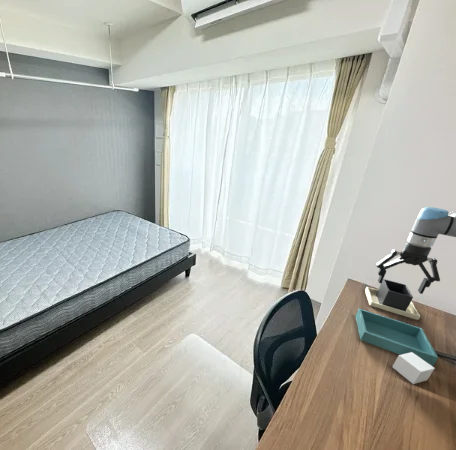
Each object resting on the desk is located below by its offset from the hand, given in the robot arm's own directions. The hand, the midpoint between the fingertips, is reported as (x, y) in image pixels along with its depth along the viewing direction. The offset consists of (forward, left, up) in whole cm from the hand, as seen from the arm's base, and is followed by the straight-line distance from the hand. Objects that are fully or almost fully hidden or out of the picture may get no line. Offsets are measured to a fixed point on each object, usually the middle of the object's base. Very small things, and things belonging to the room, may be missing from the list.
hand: (399, 286), depth 109 cm
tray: (0, 0, -10) cm, 10 cm away
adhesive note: (+3, +43, -10) cm, 45 cm away
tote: (+5, +27, -10) cm, 30 cm away
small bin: (0, 0, -10) cm, 10 cm away
